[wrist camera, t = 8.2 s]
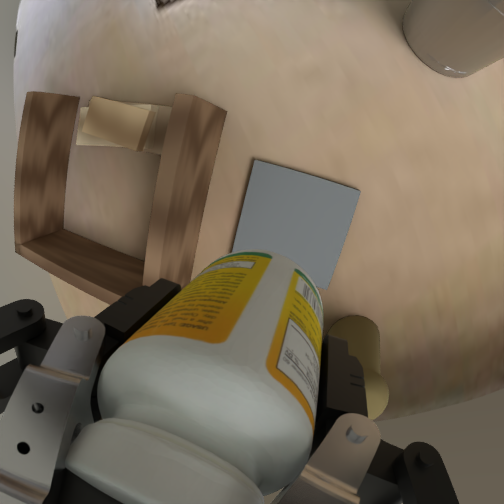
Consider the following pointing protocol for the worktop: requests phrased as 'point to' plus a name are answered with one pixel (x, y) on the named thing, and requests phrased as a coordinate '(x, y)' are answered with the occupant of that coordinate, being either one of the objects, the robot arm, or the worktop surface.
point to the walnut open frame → (163, 208)
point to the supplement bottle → (211, 390)
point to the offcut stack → (123, 125)
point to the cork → (365, 358)
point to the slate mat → (296, 218)
